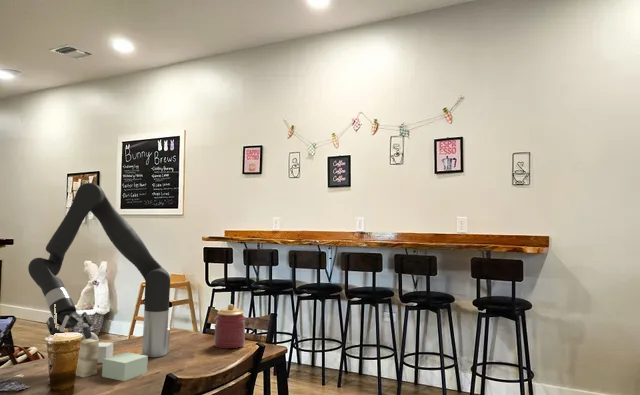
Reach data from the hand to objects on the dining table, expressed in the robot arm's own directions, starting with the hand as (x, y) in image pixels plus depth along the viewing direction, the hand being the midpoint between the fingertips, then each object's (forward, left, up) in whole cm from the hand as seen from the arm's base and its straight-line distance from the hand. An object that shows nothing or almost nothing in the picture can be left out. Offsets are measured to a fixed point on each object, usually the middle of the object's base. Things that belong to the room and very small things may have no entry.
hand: (77, 340), depth 165 cm
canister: (-58, +18, -11) cm, 62 cm away
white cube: (-13, -5, -11) cm, 17 cm away
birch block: (0, +5, -10) cm, 12 cm away
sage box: (-7, +16, -11) cm, 21 cm away
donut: (-11, -12, -11) cm, 19 cm away
